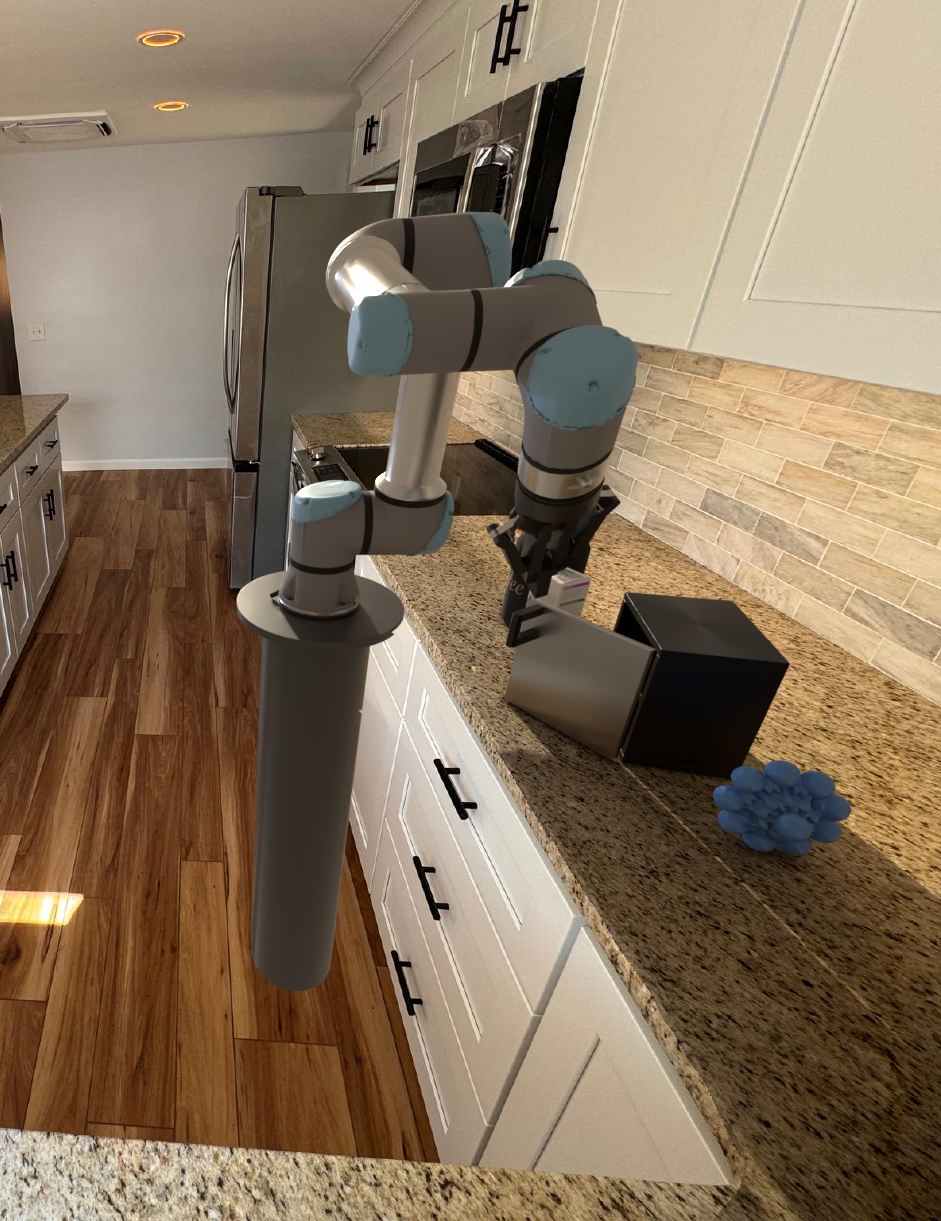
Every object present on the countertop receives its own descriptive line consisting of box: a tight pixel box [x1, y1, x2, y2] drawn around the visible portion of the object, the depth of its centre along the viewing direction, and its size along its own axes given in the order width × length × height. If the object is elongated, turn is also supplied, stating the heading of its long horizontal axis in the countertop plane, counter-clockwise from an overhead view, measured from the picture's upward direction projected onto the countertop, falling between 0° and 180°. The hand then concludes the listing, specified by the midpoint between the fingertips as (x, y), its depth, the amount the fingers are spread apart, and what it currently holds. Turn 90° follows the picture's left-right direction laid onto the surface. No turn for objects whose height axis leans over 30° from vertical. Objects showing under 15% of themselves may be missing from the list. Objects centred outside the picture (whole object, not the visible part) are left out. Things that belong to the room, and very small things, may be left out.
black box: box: [612, 591, 791, 780], centre depth 87 cm, size 12×16×17 cm
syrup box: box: [520, 567, 592, 632], centre depth 107 cm, size 6×6×14 cm
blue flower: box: [712, 759, 852, 856], centre depth 70 cm, size 12×7×12 cm, turn 72°
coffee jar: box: [500, 530, 596, 632], centre depth 115 cm, size 11×11×18 cm
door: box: [503, 598, 656, 762], centre depth 89 cm, size 6×16×17 cm, turn 25°
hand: (536, 588), depth 86 cm, fingers closed
